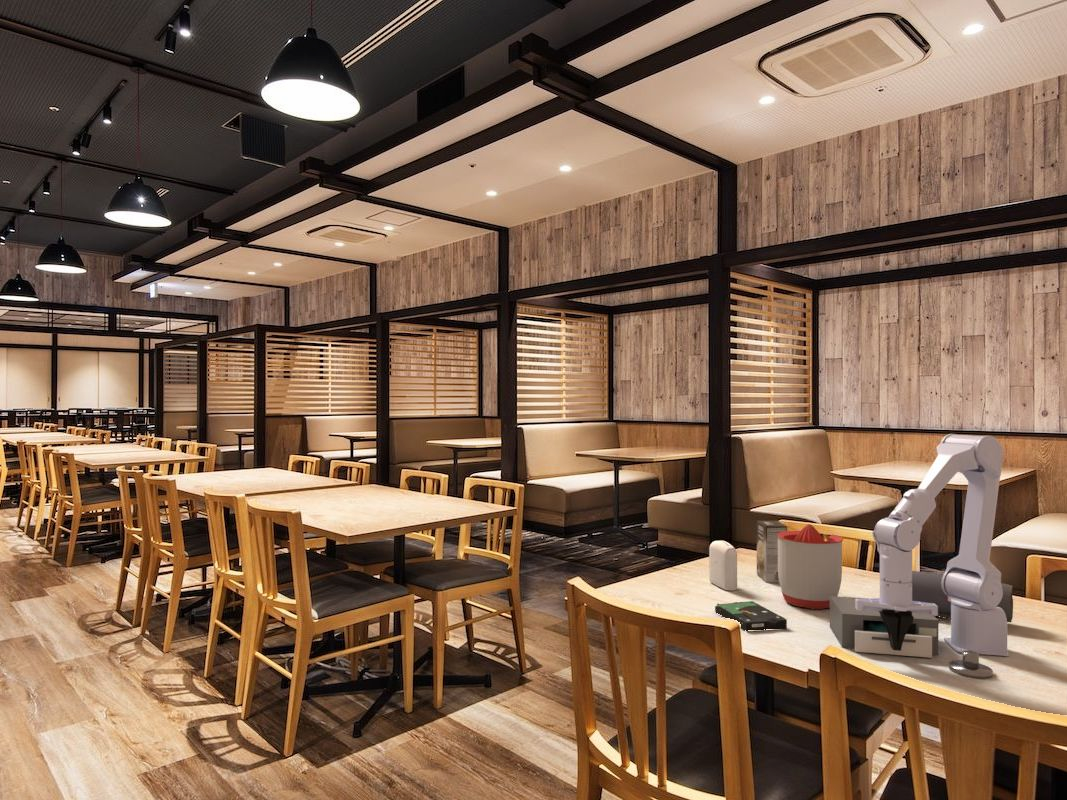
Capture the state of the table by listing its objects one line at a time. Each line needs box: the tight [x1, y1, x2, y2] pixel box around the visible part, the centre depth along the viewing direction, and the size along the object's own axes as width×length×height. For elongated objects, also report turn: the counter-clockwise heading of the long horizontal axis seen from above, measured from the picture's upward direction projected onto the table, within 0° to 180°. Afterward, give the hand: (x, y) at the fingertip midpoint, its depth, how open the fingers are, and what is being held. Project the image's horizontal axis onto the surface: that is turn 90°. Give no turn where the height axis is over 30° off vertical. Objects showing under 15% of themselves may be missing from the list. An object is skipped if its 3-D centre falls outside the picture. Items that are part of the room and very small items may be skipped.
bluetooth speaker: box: [912, 570, 1014, 623], centre depth 164 cm, size 23×9×10 cm, turn 53°
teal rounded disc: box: [868, 621, 888, 633], centre depth 147 cm, size 6×6×2 cm
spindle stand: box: [948, 650, 994, 680], centre depth 131 cm, size 7×7×4 cm
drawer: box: [854, 624, 933, 659], centre depth 146 cm, size 14×16×4 cm
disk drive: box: [714, 601, 788, 632], centre depth 161 cm, size 10×3×15 cm
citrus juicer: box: [777, 523, 844, 611], centre depth 176 cm, size 16×17×20 cm
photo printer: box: [708, 540, 738, 591], centre depth 191 cm, size 10×4×12 cm, turn 13°
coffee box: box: [756, 520, 788, 583], centre depth 200 cm, size 9×6×16 cm
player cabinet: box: [829, 596, 940, 656], centre depth 148 cm, size 18×14×7 cm
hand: (895, 648), depth 137 cm, fingers closed, pressing on drawer
